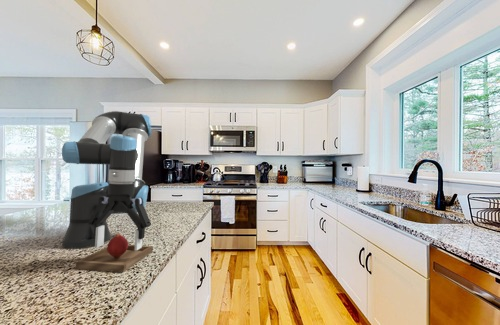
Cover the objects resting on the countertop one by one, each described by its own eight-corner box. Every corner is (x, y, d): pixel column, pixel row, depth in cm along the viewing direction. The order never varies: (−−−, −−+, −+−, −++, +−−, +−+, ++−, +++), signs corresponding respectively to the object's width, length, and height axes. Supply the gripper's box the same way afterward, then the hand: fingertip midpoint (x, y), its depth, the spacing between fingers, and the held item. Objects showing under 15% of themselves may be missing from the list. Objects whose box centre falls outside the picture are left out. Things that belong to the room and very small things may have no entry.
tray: (75, 268, 61) (76, 261, 61) (113, 249, 76) (113, 243, 76) (123, 272, 60) (123, 265, 60) (152, 251, 75) (152, 246, 75)
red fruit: (113, 254, 70) (114, 230, 71) (130, 254, 71) (131, 230, 71) (102, 261, 65) (103, 235, 65) (121, 261, 65) (123, 236, 65)
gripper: (76, 182, 66) (73, 249, 66) (151, 185, 64) (148, 254, 63) (96, 180, 74) (93, 241, 73) (163, 183, 72) (160, 245, 71)
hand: (118, 247), depth 68 cm, fingers open, 13 cm apart
